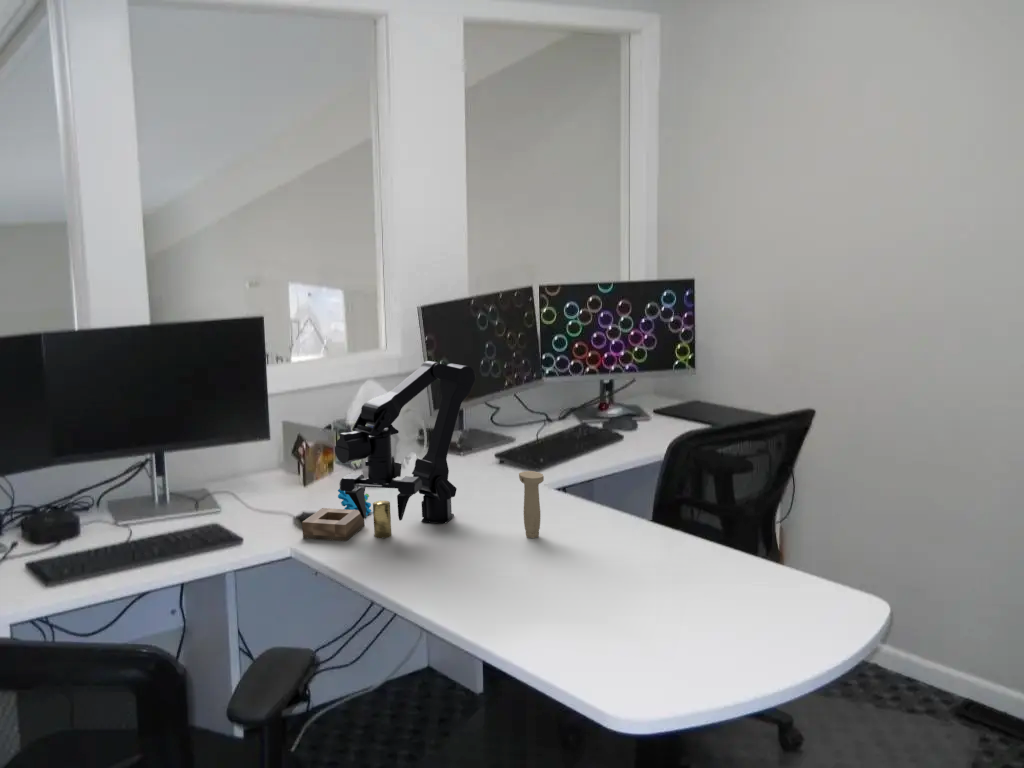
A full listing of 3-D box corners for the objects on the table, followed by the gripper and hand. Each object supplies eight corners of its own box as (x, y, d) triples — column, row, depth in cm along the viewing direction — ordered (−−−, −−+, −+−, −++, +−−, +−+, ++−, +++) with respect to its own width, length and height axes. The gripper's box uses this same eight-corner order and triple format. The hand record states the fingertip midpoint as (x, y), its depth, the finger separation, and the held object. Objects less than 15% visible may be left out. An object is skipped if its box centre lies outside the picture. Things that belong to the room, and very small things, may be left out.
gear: (356, 516, 246) (333, 485, 249) (341, 531, 249) (320, 499, 251) (382, 510, 256) (360, 479, 259) (368, 524, 258) (346, 494, 261)
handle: (531, 542, 230) (530, 479, 227) (516, 534, 235) (514, 473, 233) (548, 538, 233) (547, 475, 230) (533, 530, 238) (532, 470, 235)
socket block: (364, 526, 244) (363, 510, 243) (346, 541, 234) (345, 524, 233) (323, 523, 247) (322, 508, 246) (303, 538, 236) (302, 522, 236)
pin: (393, 533, 239) (392, 501, 237) (387, 538, 235) (386, 506, 233) (378, 532, 240) (376, 500, 238) (371, 537, 236) (370, 505, 234)
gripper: (428, 448, 239) (431, 510, 242) (356, 444, 244) (359, 506, 246) (412, 459, 228) (415, 525, 231) (336, 456, 233) (340, 520, 236)
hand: (382, 518), depth 236 cm, fingers open, 9 cm apart
